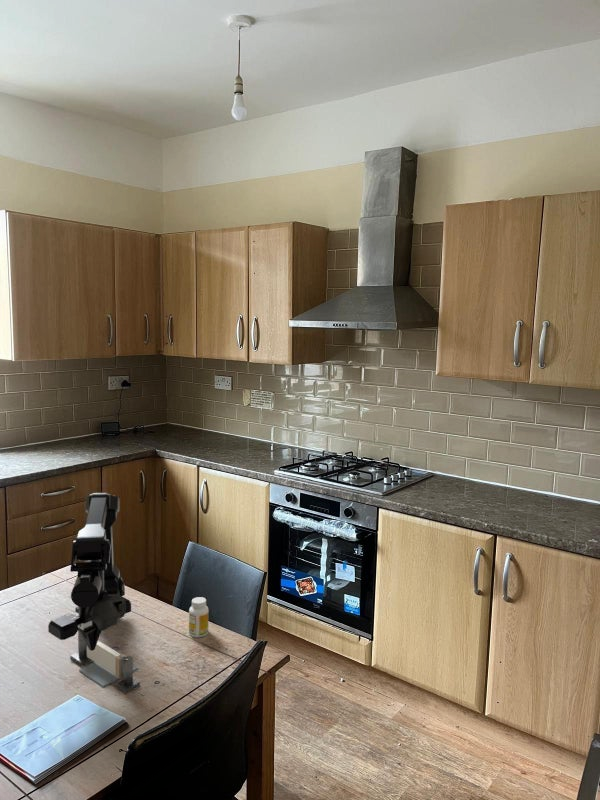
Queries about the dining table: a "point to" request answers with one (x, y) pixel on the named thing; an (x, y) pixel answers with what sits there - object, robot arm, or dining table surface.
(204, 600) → the supplement bottle
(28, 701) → the dining table surface
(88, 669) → the doorway mat
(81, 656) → the gate posts
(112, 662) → the gate
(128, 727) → the dining table surface
